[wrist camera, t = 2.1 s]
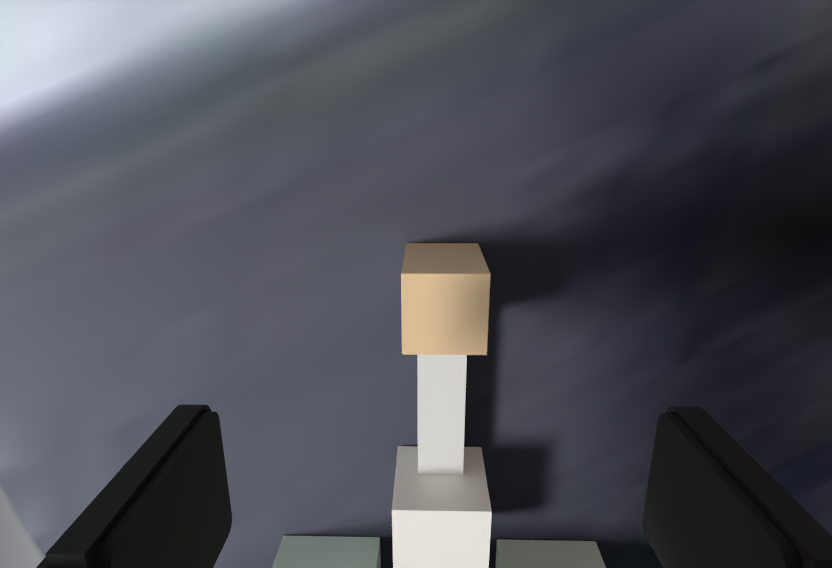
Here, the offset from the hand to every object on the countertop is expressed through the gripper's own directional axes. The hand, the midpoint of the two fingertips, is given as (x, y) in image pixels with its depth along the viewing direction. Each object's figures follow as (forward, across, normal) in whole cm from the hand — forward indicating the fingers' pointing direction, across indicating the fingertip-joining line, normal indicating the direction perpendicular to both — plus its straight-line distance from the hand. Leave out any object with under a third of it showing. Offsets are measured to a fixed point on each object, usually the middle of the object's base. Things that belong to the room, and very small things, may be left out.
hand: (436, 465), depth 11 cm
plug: (+12, -1, +5) cm, 13 cm away
